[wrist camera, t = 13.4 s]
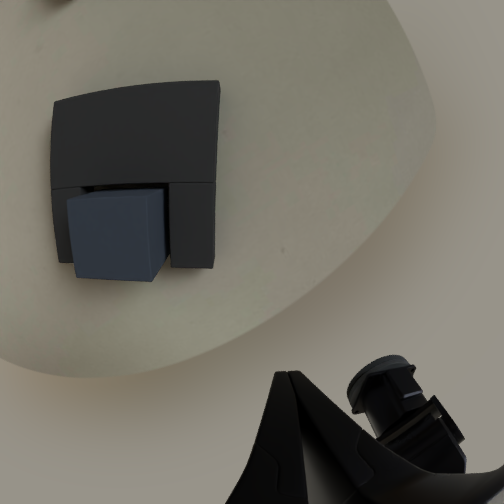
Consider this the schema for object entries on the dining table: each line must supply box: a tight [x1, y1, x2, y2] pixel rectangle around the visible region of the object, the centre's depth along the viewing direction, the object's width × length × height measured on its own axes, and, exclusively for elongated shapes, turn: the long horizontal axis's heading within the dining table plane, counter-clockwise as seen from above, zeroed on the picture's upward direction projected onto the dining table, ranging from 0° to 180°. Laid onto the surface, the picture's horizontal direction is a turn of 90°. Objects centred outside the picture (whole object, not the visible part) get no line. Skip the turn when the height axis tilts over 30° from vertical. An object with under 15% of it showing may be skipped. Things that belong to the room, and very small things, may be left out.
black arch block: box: [50, 80, 220, 269], centre depth 16 cm, size 12×12×2 cm
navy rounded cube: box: [67, 187, 170, 282], centre depth 16 cm, size 5×5×5 cm
